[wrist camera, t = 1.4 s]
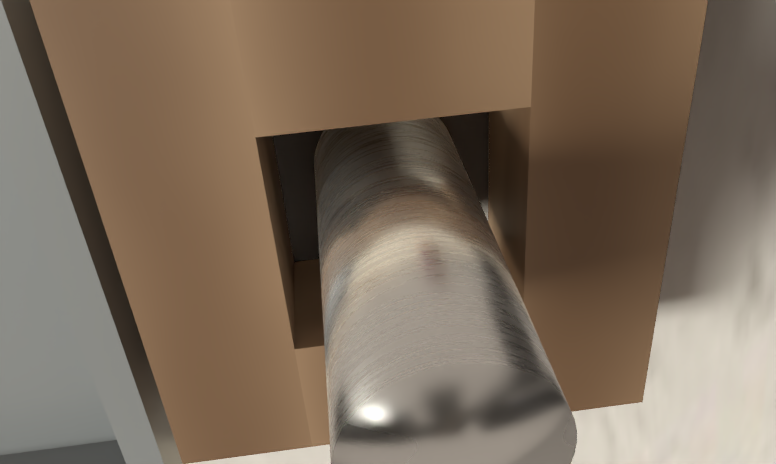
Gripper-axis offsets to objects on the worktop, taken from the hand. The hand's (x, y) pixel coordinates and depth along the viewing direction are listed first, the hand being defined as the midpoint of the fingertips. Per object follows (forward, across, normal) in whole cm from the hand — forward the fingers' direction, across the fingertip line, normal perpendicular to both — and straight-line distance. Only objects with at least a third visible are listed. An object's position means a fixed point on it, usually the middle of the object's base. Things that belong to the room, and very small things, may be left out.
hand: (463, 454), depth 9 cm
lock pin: (+8, 0, 0) cm, 8 cm away
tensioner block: (+8, 0, 0) cm, 8 cm away
